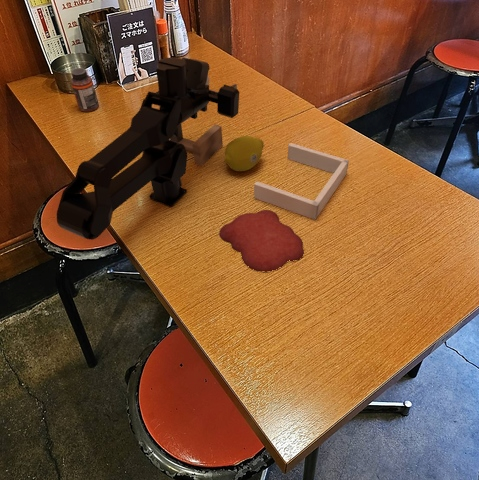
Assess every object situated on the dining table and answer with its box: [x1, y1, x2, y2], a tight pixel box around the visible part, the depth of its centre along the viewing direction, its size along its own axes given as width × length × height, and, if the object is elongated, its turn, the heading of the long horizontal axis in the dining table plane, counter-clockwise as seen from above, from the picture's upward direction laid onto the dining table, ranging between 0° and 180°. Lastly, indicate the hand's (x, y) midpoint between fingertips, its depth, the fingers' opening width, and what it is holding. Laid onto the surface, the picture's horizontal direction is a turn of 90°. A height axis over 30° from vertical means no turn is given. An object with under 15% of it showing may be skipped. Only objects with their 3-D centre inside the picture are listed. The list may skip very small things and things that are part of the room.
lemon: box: [224, 135, 265, 172], centre depth 109 cm, size 11×8×8 cm
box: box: [253, 142, 350, 221], centre depth 105 cm, size 18×15×4 cm
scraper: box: [169, 123, 224, 167], centre depth 114 cm, size 10×12×10 cm
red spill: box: [218, 209, 305, 272], centre depth 94 cm, size 18×14×2 cm
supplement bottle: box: [70, 67, 100, 113], centre depth 130 cm, size 6×6×11 cm
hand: (219, 81), depth 109 cm, fingers open, 9 cm apart
